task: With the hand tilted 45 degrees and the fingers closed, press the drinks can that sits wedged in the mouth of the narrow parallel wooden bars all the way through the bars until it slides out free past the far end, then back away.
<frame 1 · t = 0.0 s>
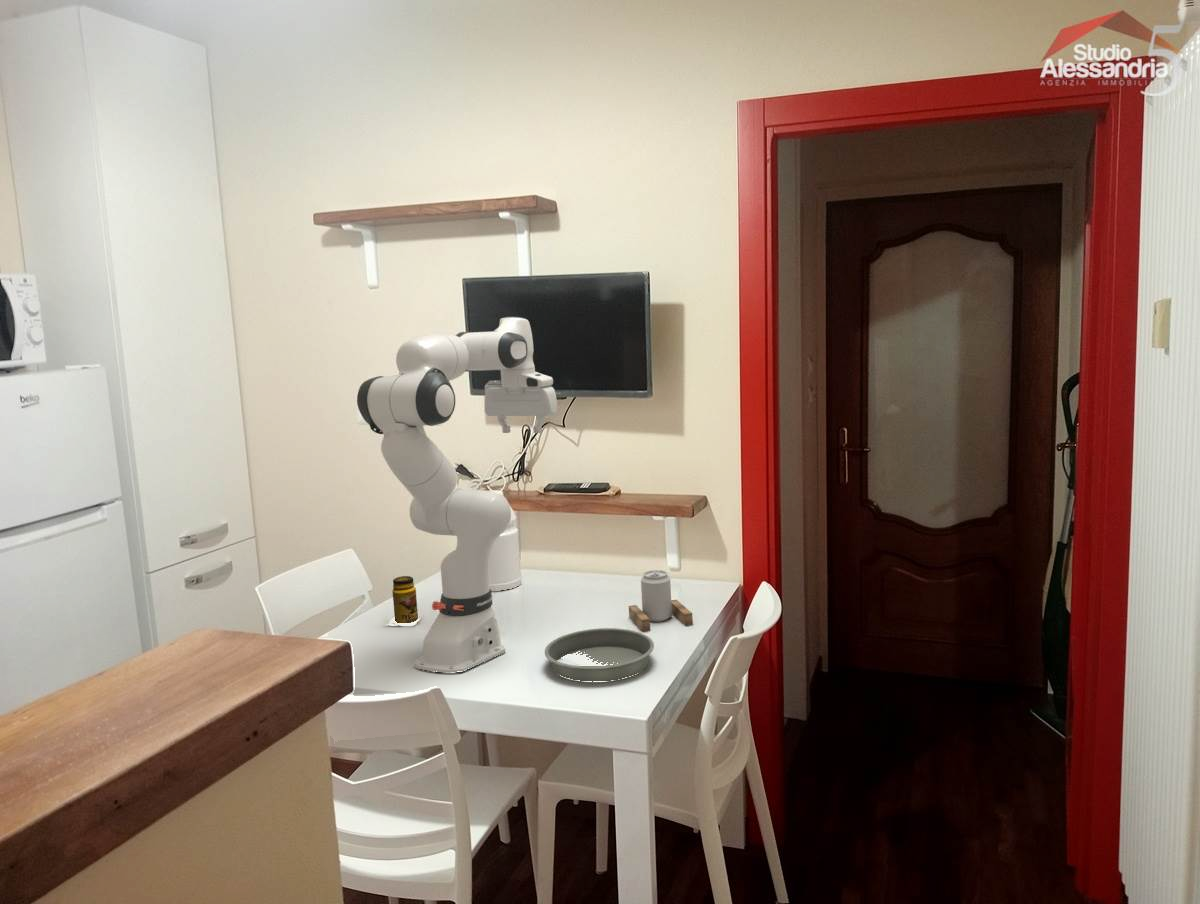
hand: (522, 432, 246), 48 cm above the table, tool pointing down, fingers open, 8 cm apart
condiment: (403, 622, 250), on the table
can: (657, 618, 242), on the table
cake pan: (600, 666, 213), on the table
parallel wooden bars: (660, 620, 239), on the table
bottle: (498, 585, 279), on the table
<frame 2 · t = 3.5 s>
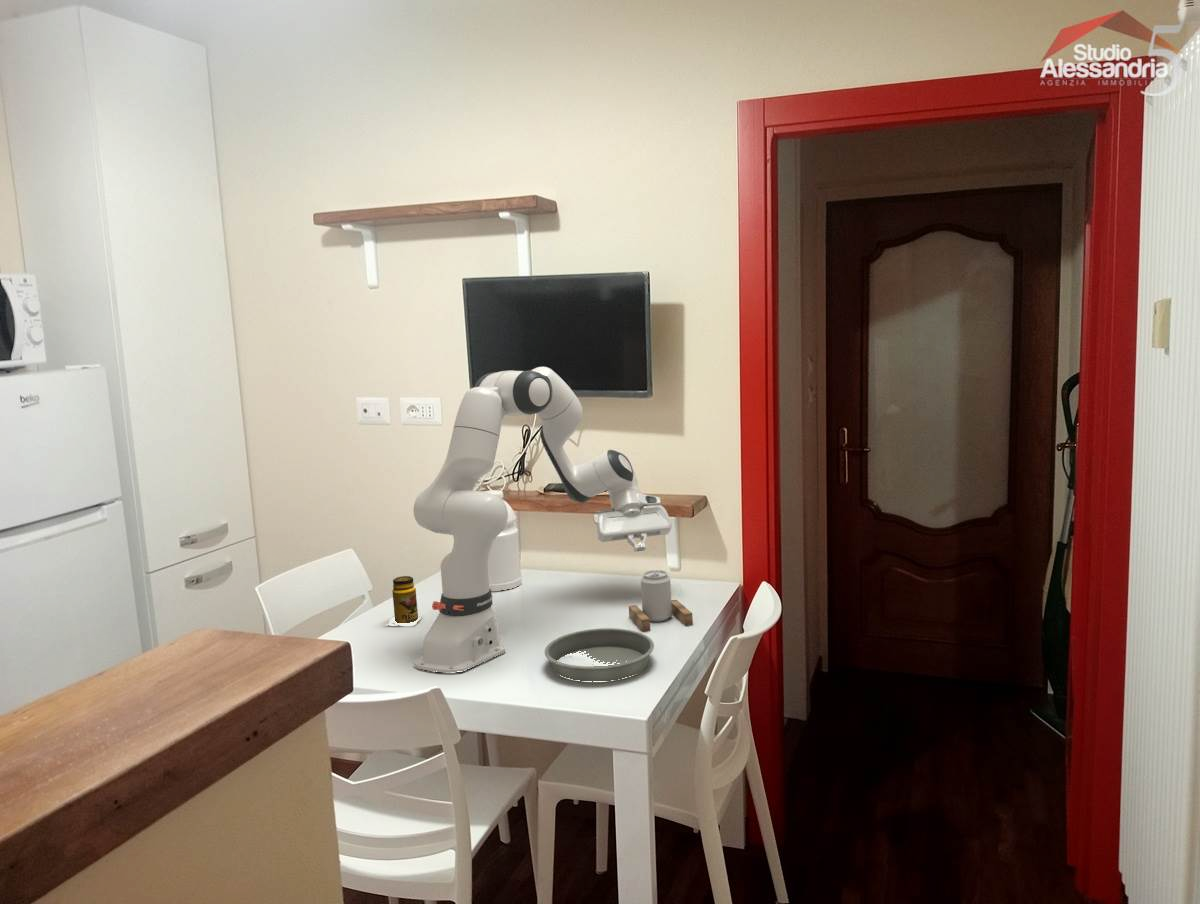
hand: (640, 550, 251), 15 cm above the table, tool tilted 45°, fingers closed
nothing on the table moved.
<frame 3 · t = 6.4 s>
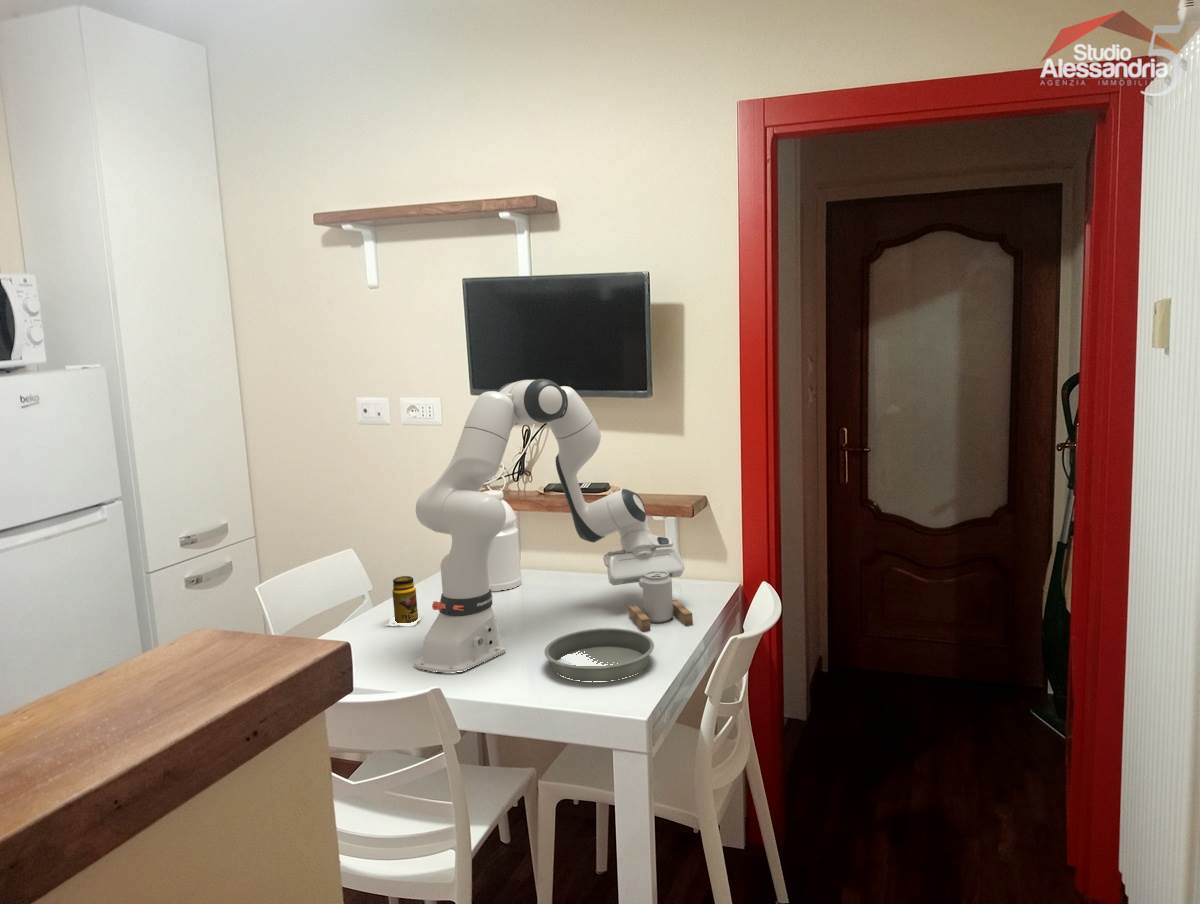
hand: (652, 594, 244), 5 cm above the table, tool tilted 45°, fingers closed, pressing on can
can: (658, 619, 241), on the table, touching gripper
everything else where it was.
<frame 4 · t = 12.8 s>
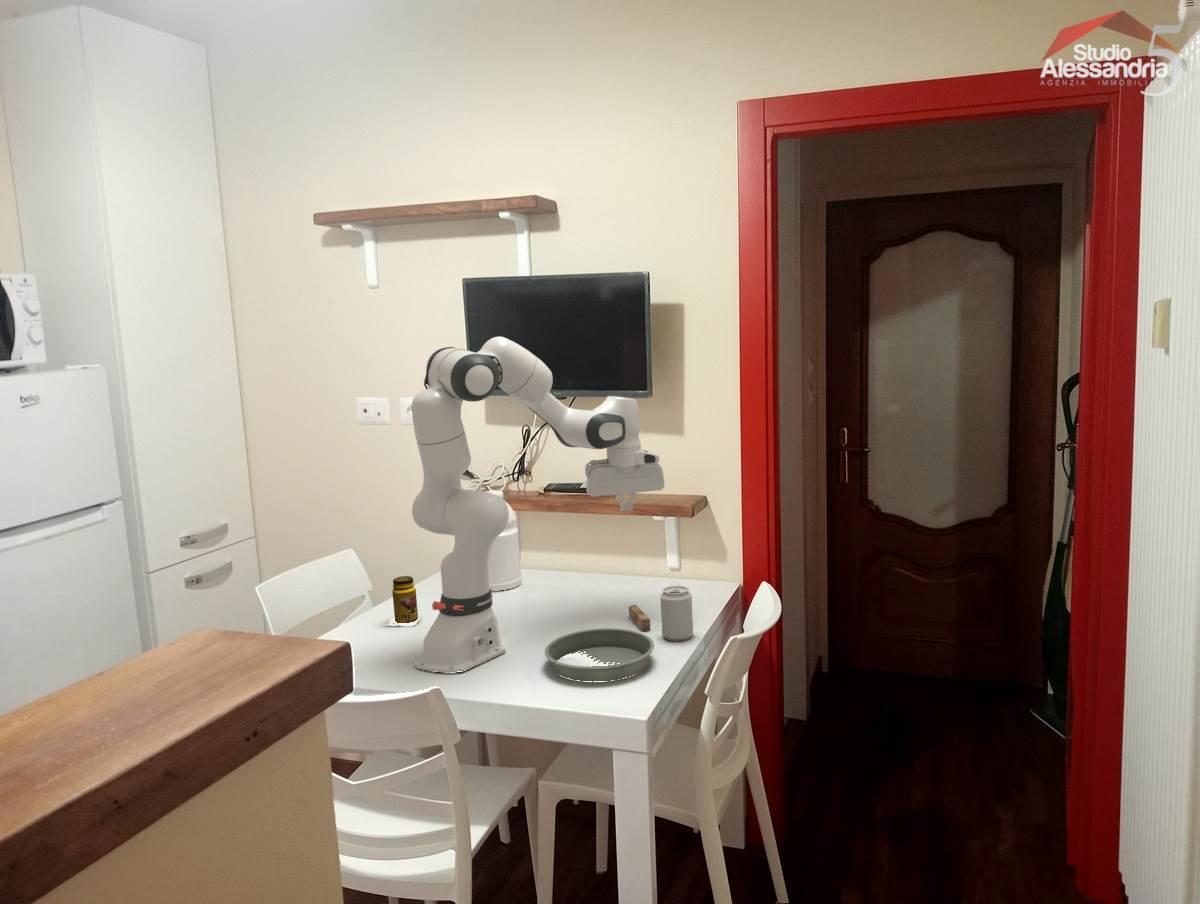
hand: (626, 510, 245), 27 cm above the table, tool pointing down, fingers closed
can: (677, 637, 227), on the table
everything else where it was.
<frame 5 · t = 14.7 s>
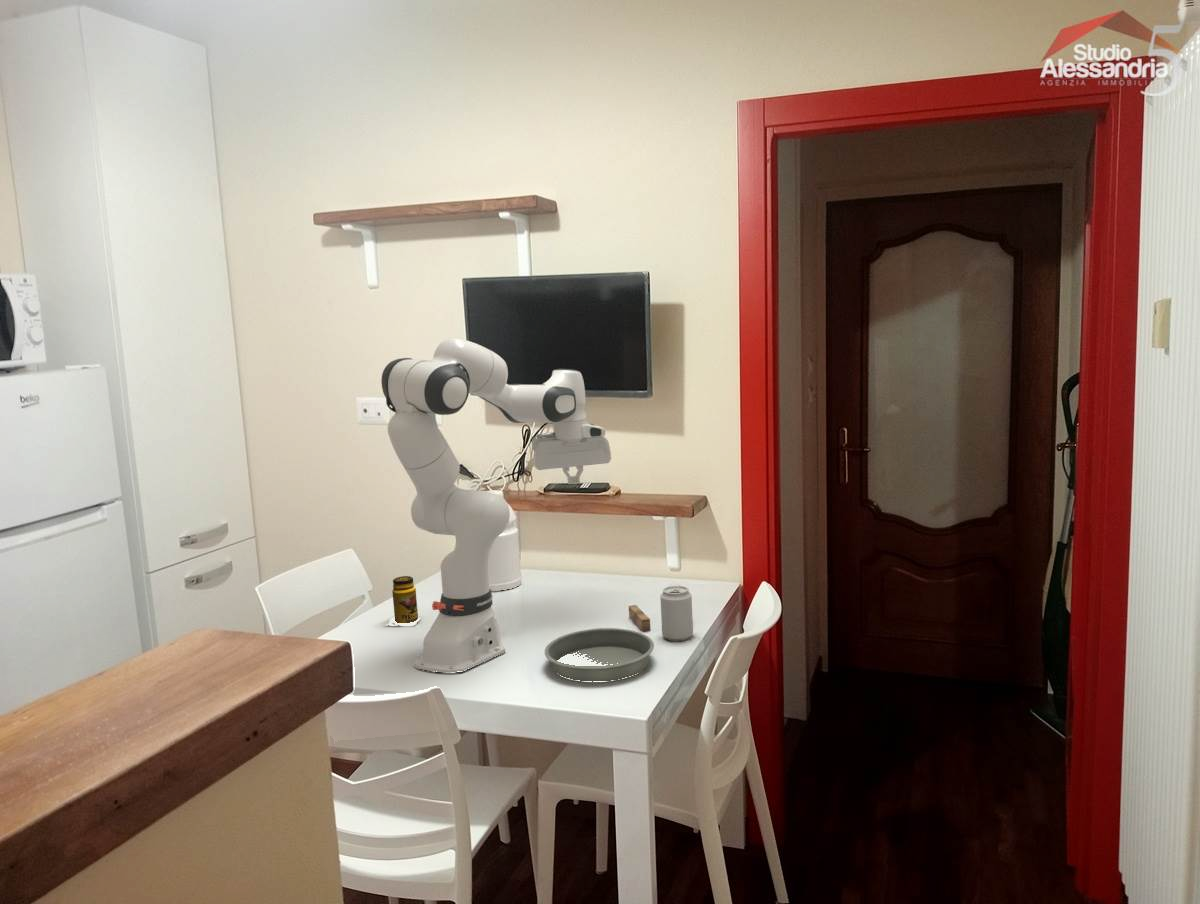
hand: (573, 483, 247), 34 cm above the table, tool pointing down, fingers closed
nothing on the table moved.
at the end: can inside the target area (3.3 cm from its centre), on the table; can tilted 0°; can touching table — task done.
